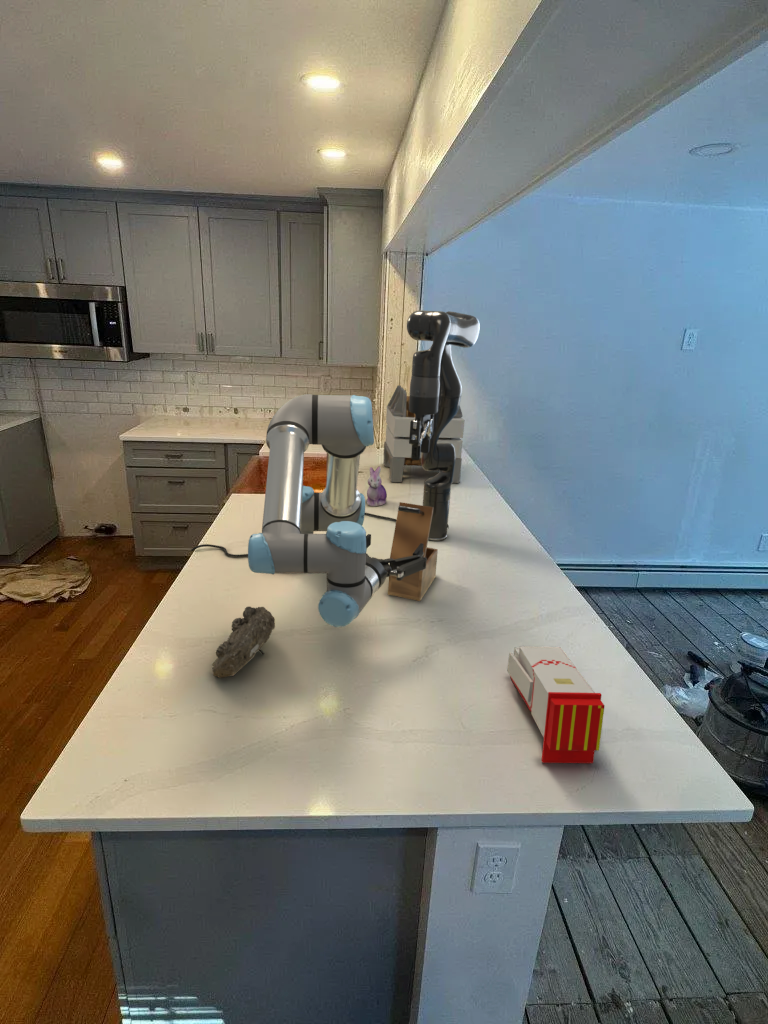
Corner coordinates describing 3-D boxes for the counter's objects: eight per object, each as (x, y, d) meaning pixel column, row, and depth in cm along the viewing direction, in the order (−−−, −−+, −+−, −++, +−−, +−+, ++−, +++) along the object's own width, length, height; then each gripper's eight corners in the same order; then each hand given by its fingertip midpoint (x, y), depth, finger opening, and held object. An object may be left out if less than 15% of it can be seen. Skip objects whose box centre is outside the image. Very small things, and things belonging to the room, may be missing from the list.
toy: (556, 628, 125) (614, 701, 96) (551, 684, 128) (605, 771, 99) (502, 627, 125) (543, 700, 95) (497, 683, 128) (536, 770, 98)
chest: (405, 571, 172) (407, 543, 169) (435, 576, 169) (437, 549, 166) (387, 594, 157) (389, 565, 154) (420, 601, 154) (422, 571, 151)
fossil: (228, 609, 137) (273, 580, 132) (255, 636, 140) (300, 609, 135) (192, 672, 118) (244, 640, 113) (224, 701, 121) (275, 672, 116)
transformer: (382, 463, 289) (386, 382, 275) (445, 464, 293) (451, 384, 279) (390, 482, 257) (394, 392, 243) (460, 483, 261) (468, 394, 247)
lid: (400, 502, 156) (392, 498, 148) (433, 507, 153) (427, 504, 145) (389, 563, 155) (381, 562, 147) (423, 569, 152) (416, 569, 144)
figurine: (371, 508, 224) (372, 471, 219) (360, 500, 232) (361, 464, 227) (392, 505, 228) (394, 469, 223) (380, 497, 236) (382, 462, 231)
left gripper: (310, 584, 126) (348, 549, 145) (418, 606, 118) (443, 566, 137) (310, 553, 123) (348, 521, 142) (420, 574, 116) (445, 538, 135)
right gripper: (431, 398, 136) (426, 464, 142) (445, 392, 149) (440, 452, 155) (401, 396, 139) (398, 460, 144) (418, 389, 151) (414, 448, 157)
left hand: (395, 543), depth 140 cm, fingers open, 13 cm apart
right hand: (420, 456), depth 149 cm, fingers open, 8 cm apart
